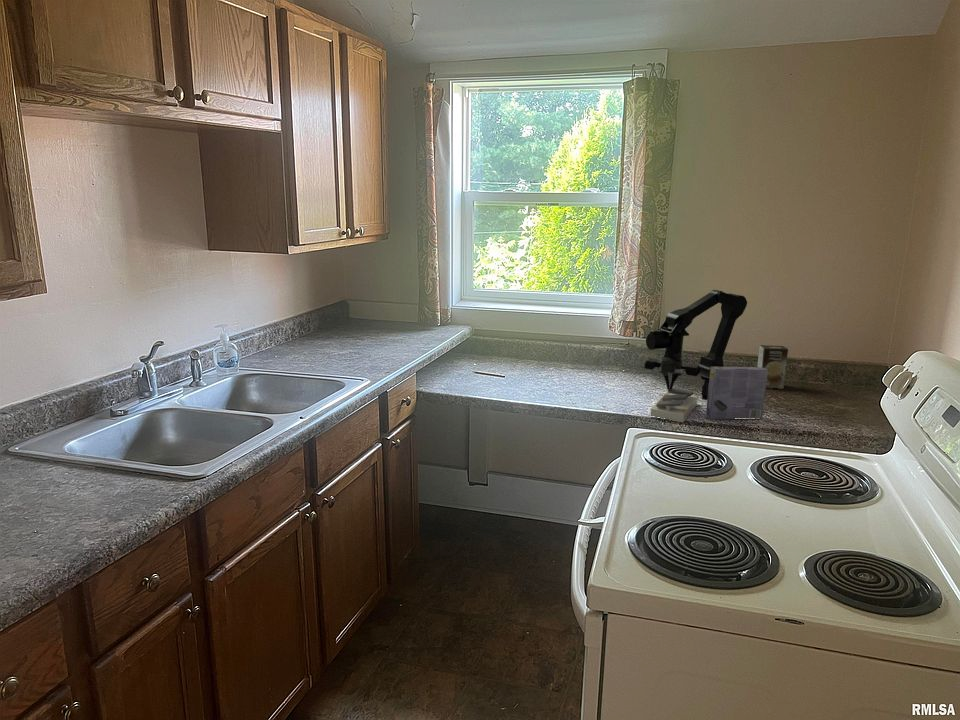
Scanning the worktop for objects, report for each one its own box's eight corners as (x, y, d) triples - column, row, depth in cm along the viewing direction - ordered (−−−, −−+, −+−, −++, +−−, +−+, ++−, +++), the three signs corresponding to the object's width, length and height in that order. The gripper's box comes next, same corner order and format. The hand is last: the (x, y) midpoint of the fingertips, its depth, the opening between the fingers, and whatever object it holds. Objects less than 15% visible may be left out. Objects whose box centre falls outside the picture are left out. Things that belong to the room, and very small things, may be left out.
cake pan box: (759, 415, 236) (765, 365, 232) (766, 420, 231) (771, 369, 227) (704, 415, 236) (709, 365, 231) (709, 420, 231) (714, 369, 226)
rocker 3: (692, 393, 247) (693, 391, 246) (690, 396, 243) (690, 393, 243) (670, 390, 250) (670, 387, 250) (667, 392, 247) (668, 390, 247)
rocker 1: (688, 396, 240) (687, 394, 239) (685, 399, 236) (685, 397, 236) (665, 398, 244) (664, 395, 243) (662, 401, 240) (662, 398, 240)
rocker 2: (683, 403, 233) (682, 400, 233) (680, 406, 229) (680, 403, 229) (659, 404, 237) (659, 401, 237) (656, 407, 233) (656, 404, 233)
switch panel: (696, 404, 248) (697, 392, 247) (683, 422, 228) (684, 409, 227) (666, 399, 253) (667, 388, 252) (650, 417, 233) (651, 404, 232)
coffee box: (759, 388, 268) (763, 348, 264) (754, 383, 275) (758, 344, 271) (783, 389, 267) (788, 349, 264) (778, 384, 274) (783, 345, 270)
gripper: (642, 348, 242) (638, 391, 246) (696, 356, 233) (691, 400, 237) (650, 342, 251) (646, 383, 255) (702, 349, 243) (697, 392, 247)
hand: (669, 389), depth 248 cm, fingers closed
